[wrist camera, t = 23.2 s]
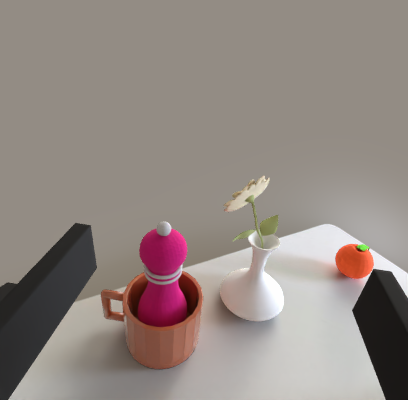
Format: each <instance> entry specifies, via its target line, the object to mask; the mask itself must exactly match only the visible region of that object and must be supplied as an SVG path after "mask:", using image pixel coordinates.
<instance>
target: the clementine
mask: <svg viewBox="0 0 408 400" xmlns="http://www.w3.org/2000/svg"><path fill="white" fill-rule="evenodd" d="M367 249H368V250H367ZM335 259H336V265H337V267H338V269H339V271H340V272H341V273H342V274H344V275H345V276H347V277H350V278H354V279H358V278H363V277H365V276H367V275H368V274H369V273H370V272H371V271H372V268H373V265H374V262H373V257H372V255H371V253H370V252H369V247H368V246H366V245H357V244H349V245H346V246H343V247H342V248H341V249H339V251H338V252H337V254H336V258H335Z"/></svg>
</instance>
